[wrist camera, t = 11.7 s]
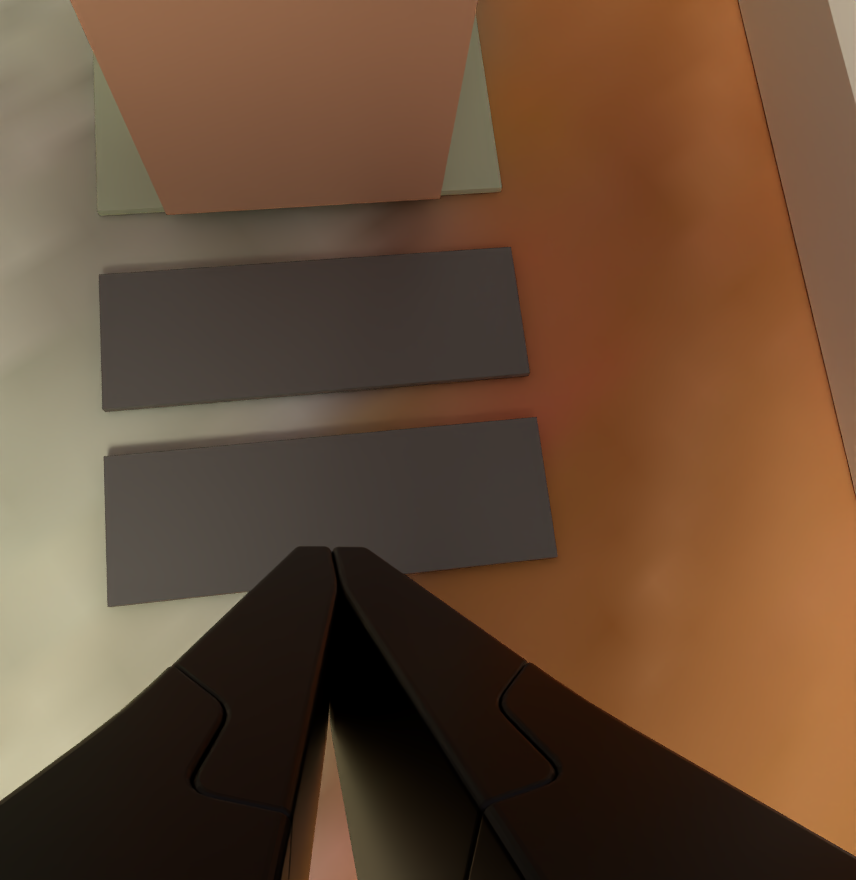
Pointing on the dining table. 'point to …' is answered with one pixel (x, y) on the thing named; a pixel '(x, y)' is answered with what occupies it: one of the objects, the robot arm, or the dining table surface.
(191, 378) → the trap box
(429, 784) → the robot arm
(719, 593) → the dining table surface
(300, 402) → the dining table surface
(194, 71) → the terracotta block
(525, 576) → the dining table surface
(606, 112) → the dining table surface
